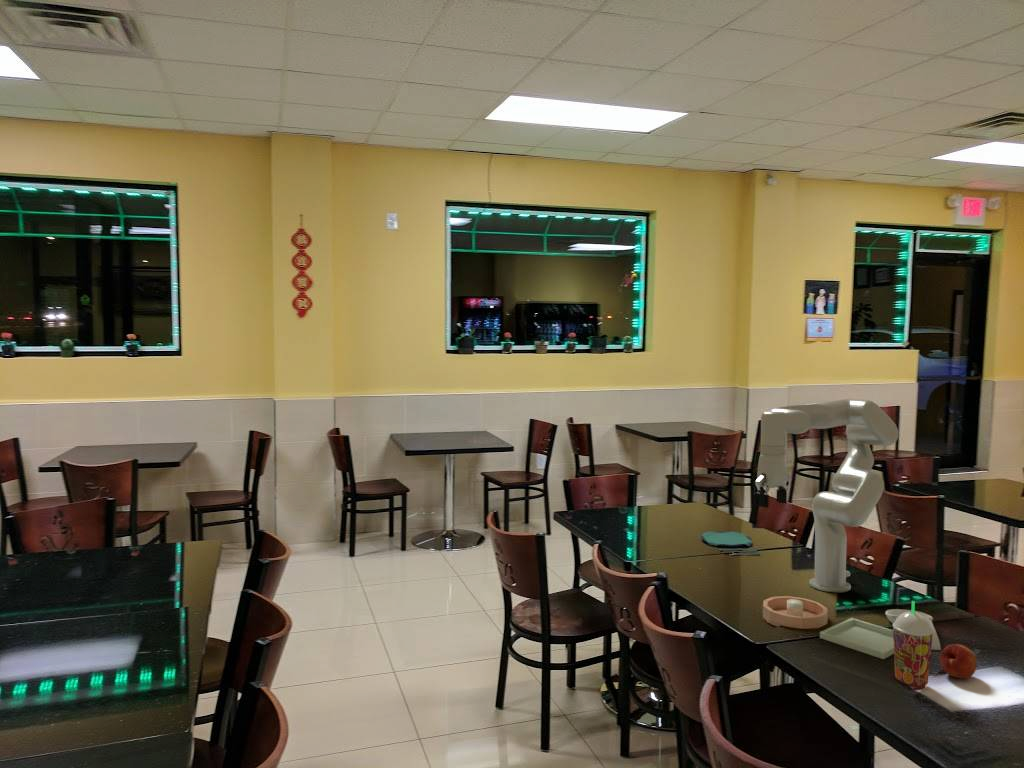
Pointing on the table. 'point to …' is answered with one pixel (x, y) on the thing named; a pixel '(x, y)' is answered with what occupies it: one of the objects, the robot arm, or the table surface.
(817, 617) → the bowl
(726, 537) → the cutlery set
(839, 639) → the tray
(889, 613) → the spoon rest
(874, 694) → the table surface
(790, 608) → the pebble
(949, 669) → the fruit
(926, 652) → the smoothie
